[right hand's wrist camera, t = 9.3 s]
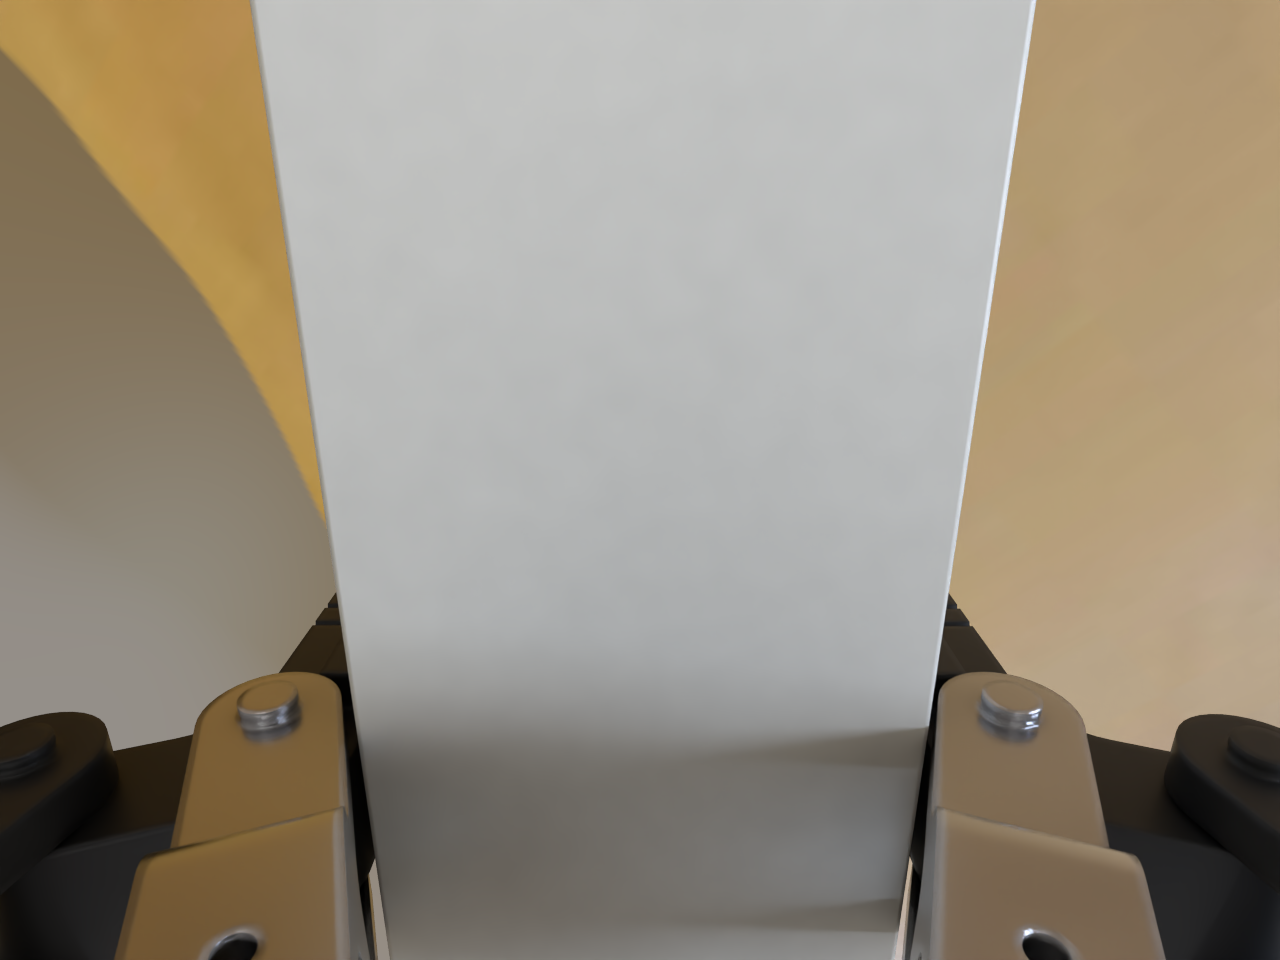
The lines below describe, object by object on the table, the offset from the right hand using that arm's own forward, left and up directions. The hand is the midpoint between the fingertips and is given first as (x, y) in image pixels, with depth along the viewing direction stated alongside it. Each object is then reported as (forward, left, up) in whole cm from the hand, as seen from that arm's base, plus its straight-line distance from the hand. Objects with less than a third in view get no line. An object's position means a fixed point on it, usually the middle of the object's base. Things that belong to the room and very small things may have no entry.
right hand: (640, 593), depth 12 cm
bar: (+8, -24, -2) cm, 25 cm away
